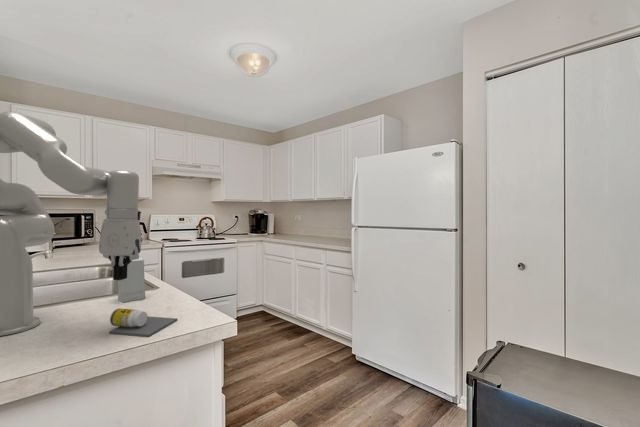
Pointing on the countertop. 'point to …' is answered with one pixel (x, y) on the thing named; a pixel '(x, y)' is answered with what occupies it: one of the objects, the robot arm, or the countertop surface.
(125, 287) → the skincare box
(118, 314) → the supplement bottle
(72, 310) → the countertop surface
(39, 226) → the robot arm
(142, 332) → the mat
